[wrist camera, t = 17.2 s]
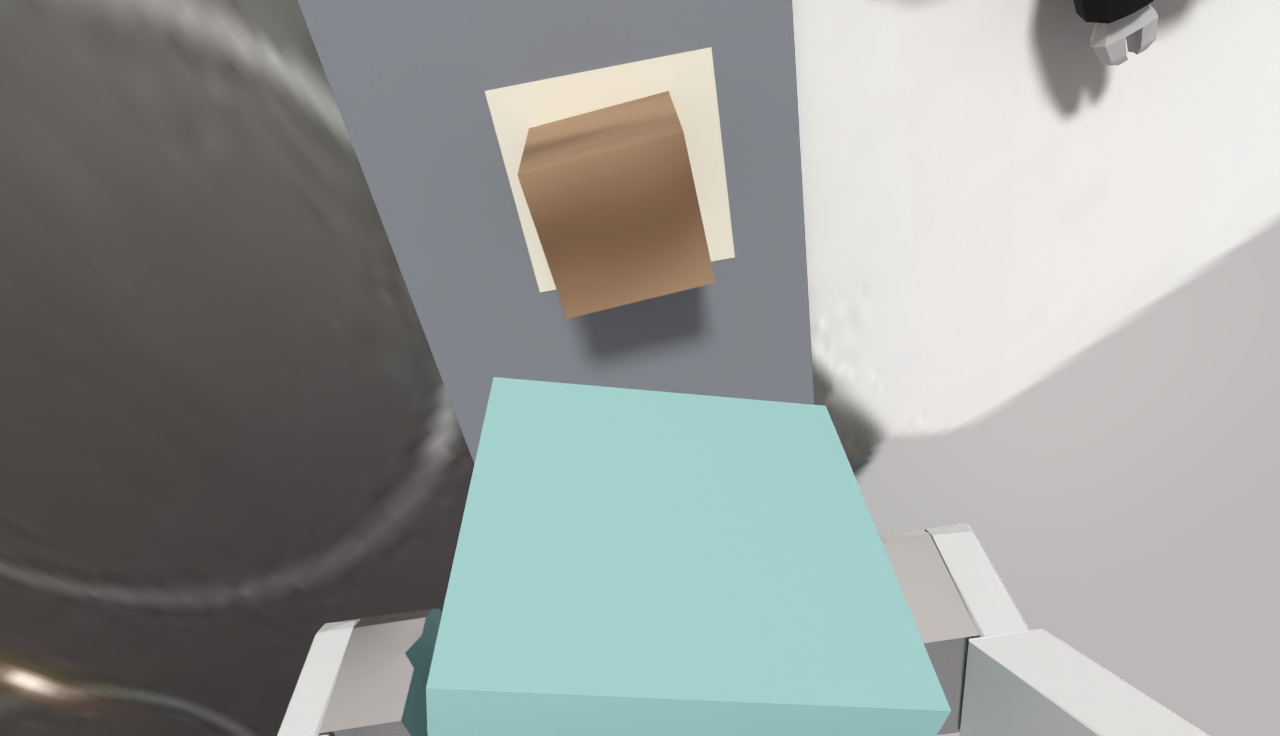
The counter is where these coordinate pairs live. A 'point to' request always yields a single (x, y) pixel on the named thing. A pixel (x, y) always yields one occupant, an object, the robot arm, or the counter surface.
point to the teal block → (671, 577)
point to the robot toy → (1119, 27)
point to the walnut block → (616, 205)
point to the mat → (498, 212)
